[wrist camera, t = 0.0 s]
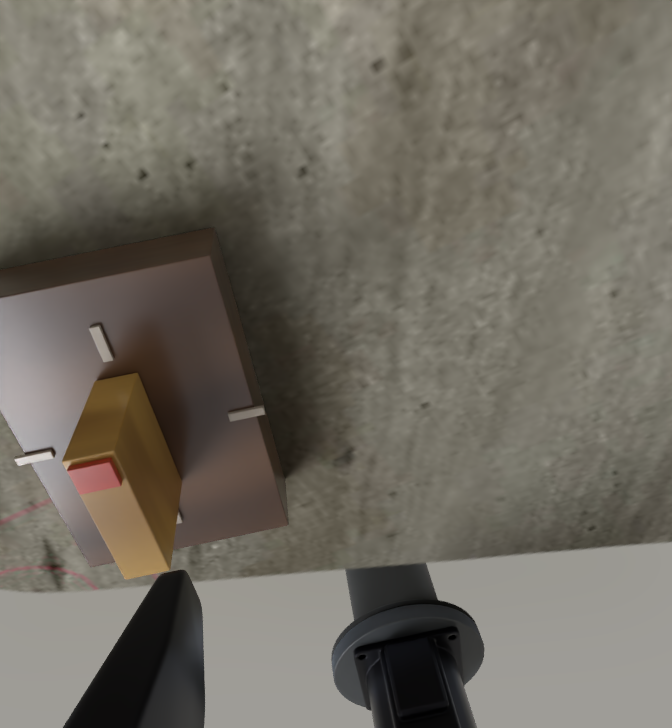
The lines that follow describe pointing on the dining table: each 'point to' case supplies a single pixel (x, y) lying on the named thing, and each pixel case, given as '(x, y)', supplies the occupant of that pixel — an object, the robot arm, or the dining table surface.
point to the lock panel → (142, 378)
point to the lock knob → (126, 475)
